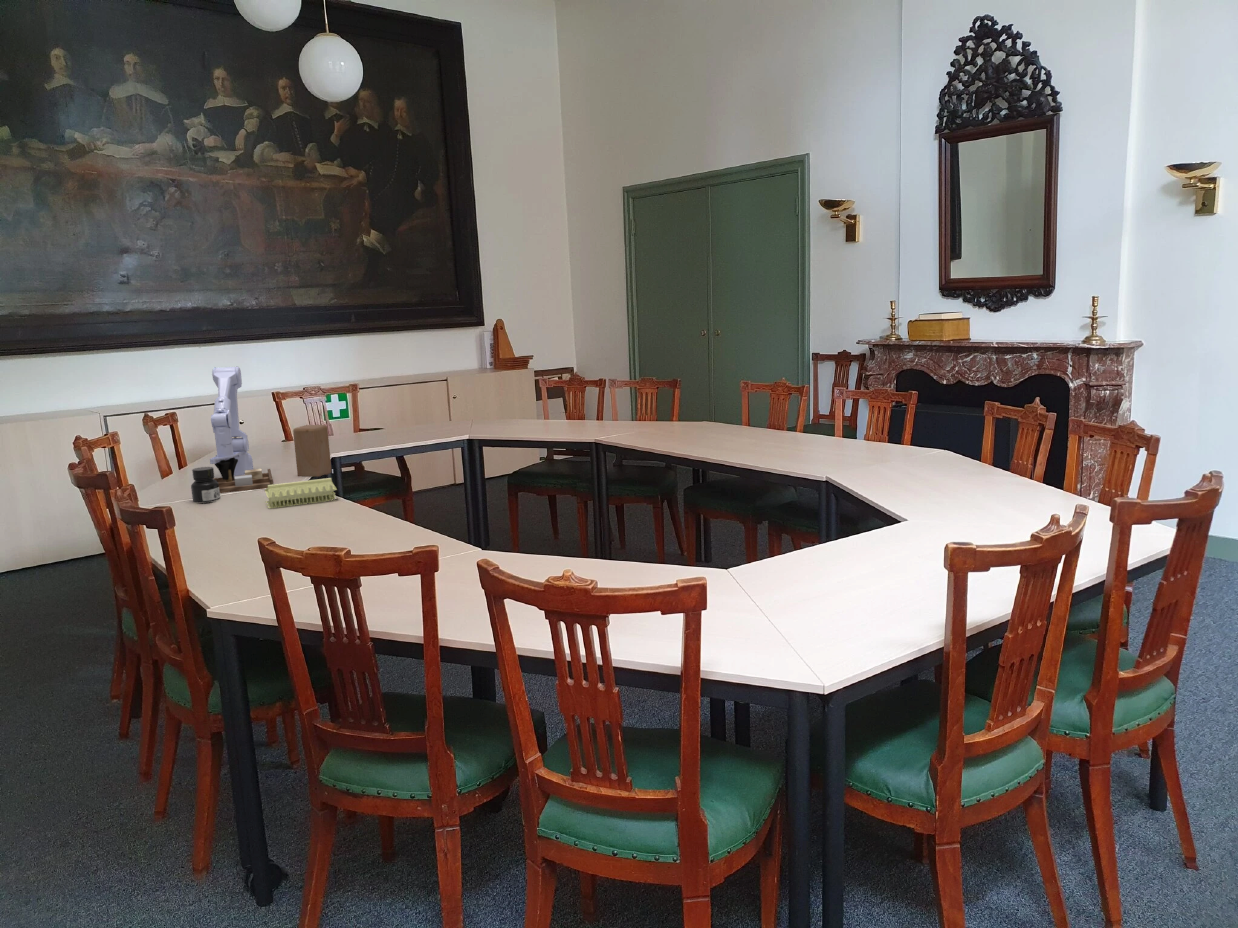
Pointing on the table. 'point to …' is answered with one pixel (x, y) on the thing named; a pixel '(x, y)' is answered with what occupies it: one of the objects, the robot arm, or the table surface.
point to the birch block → (255, 474)
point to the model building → (300, 493)
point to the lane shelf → (257, 484)
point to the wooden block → (312, 450)
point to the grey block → (243, 480)
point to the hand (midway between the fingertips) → (228, 478)
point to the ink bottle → (204, 485)
